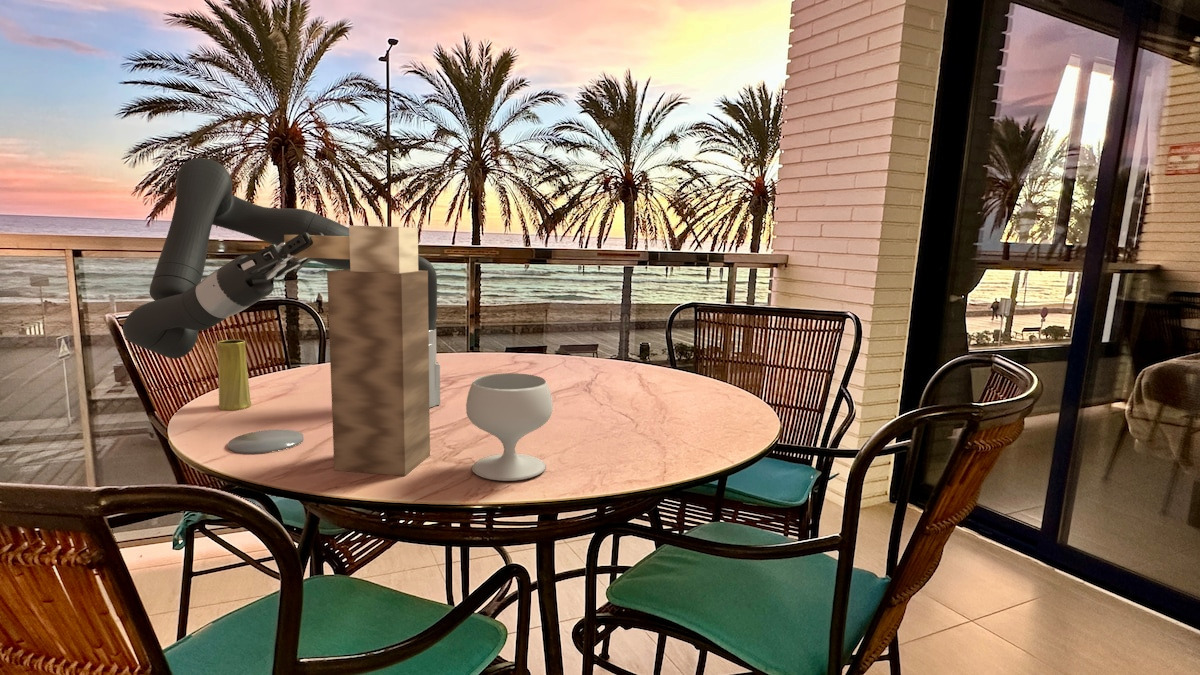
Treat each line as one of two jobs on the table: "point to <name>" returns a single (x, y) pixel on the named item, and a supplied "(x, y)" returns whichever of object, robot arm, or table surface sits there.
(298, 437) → the grey flat disc
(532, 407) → the chalice
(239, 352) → the vase
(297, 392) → the table surface
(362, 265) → the mallet
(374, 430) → the herringbone wood pillar
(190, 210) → the robot arm
